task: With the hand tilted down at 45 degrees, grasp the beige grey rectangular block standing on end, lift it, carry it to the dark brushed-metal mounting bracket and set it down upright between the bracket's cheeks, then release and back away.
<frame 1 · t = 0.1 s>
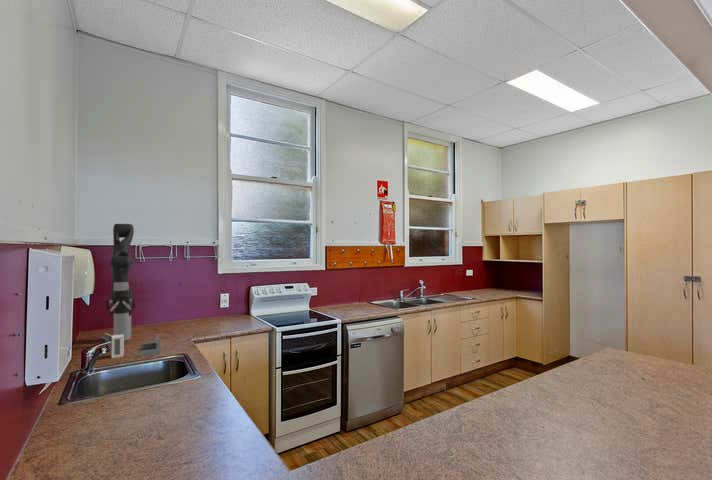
hand: (120, 316, 205), 17 cm above the counter, tool pointing down, fingers open, 8 cm apart
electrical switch: (109, 350, 197), on the counter
bracket: (148, 351, 195), on the counter
beige grey rectangular block: (117, 356, 188), on the counter
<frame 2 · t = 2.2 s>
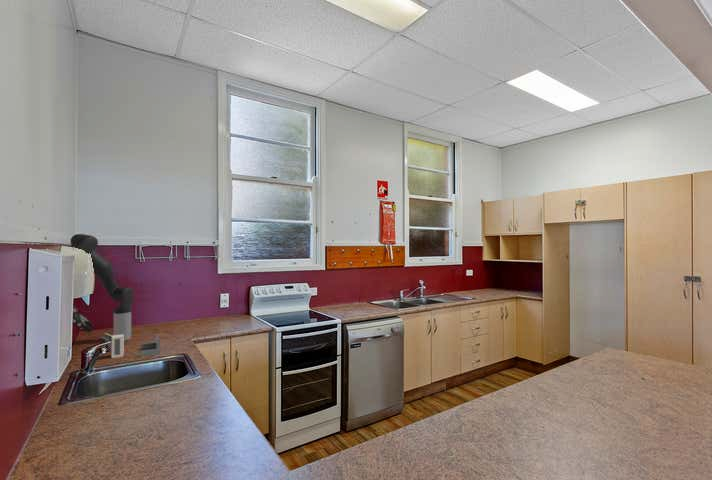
hand: (91, 329, 182), 16 cm above the counter, tool tilted 45°, fingers open, 8 cm apart
nothing on the counter moved.
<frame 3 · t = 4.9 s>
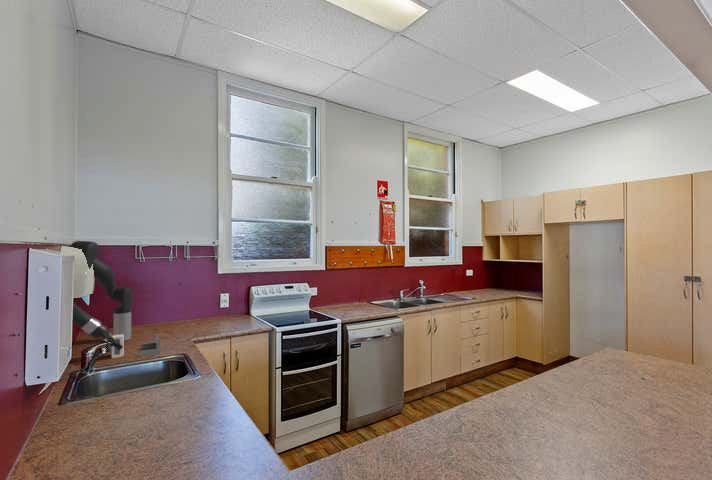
hand: (121, 346, 189), 5 cm above the counter, tool tilted 45°, fingers closed on beige grey rectangular block, 5 cm apart
beige grey rectangular block: (117, 356, 188), on the counter, touching gripper
everything else where it was.
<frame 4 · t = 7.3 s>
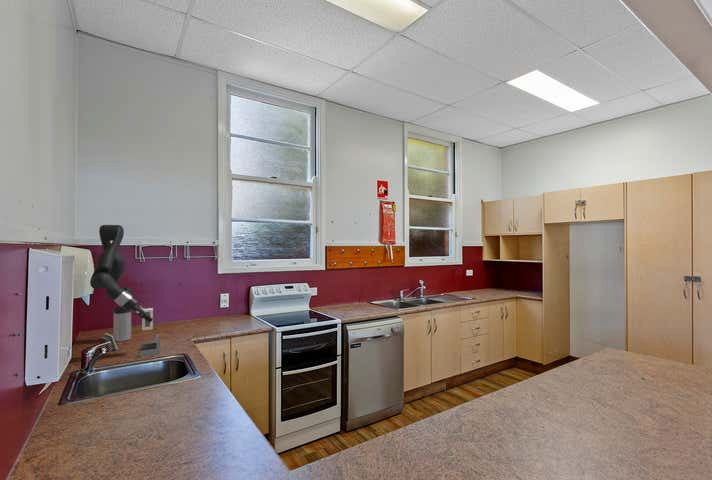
hand: (151, 319, 196), 18 cm above the counter, tool tilted 45°, fingers closed on beige grey rectangular block, 5 cm apart
beige grey rectangular block: (147, 328, 195), point 13 cm above the counter, touching gripper
everything else where it was.
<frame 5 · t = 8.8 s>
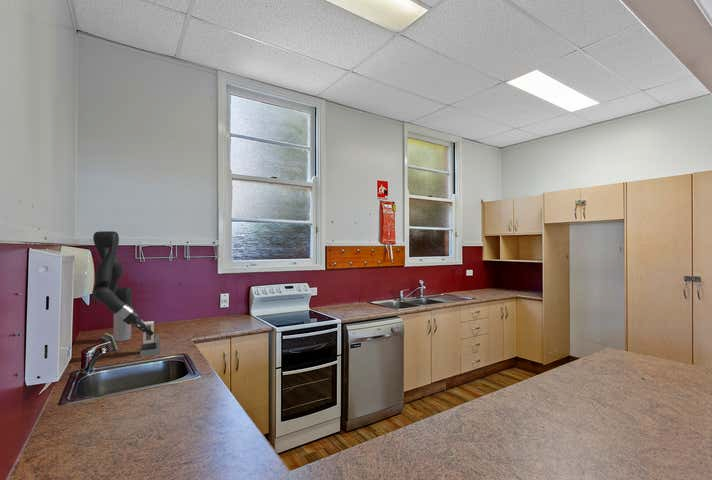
hand: (152, 333, 196), 10 cm above the counter, tool tilted 45°, fingers closed on beige grey rectangular block, 5 cm apart
beige grey rectangular block: (148, 341, 195), point 6 cm above the counter, touching gripper
everything else where it was.
when the fingers open (6 cm above the counter, at t = 10.1 s): beige grey rectangular block drops 1 cm, on the counter.
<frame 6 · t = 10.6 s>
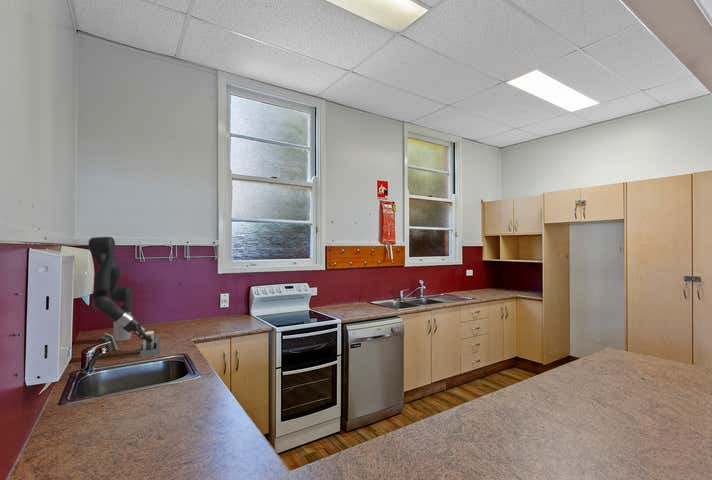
hand: (151, 339, 196), 7 cm above the counter, tool tilted 45°, fingers open, 8 cm apart
beige grey rectangular block: (148, 351, 195), on the counter
everything else where it was.
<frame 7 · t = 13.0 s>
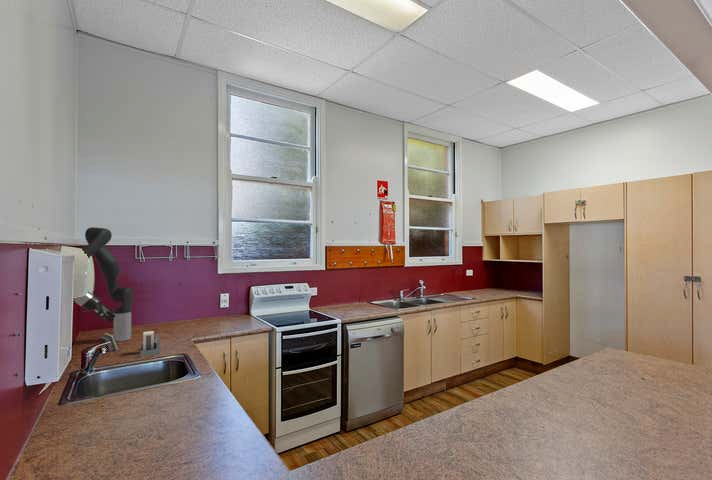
hand: (113, 319, 187), 20 cm above the counter, tool tilted 45°, fingers open, 8 cm apart
nothing on the counter moved.
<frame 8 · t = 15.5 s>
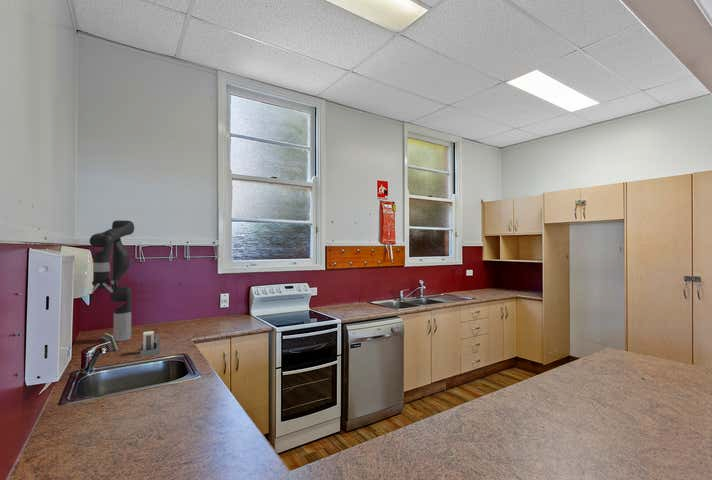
hand: (101, 299, 190), 30 cm above the counter, tool pointing down, fingers open, 8 cm apart
nothing on the counter moved.
at the end: beige grey rectangular block inside the target area (0.2 cm from its centre), on the counter; beige grey rectangular block tilted 0°; the gripper is holding nothing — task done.
